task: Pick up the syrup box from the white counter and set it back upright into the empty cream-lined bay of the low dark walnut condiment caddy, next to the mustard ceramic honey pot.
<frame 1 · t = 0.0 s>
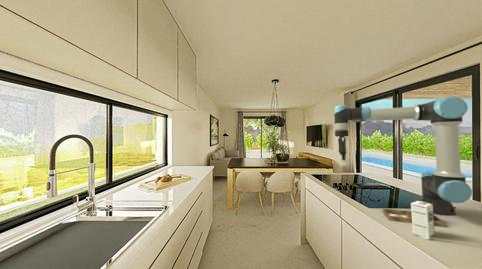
hand: (342, 164, 121), 28 cm above the worktop, fingers open, 13 cm apart
caddy: (410, 220, 102), on the worktop
honey pot: (423, 220, 100), point 1 cm above the worktop, touching caddy
syrup box: (423, 236, 86), on the worktop
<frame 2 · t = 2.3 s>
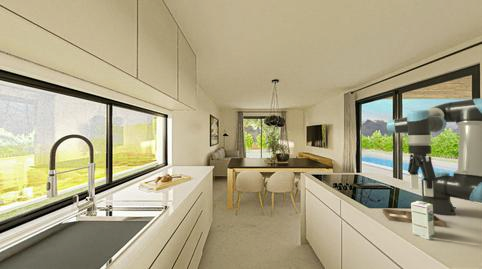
hand: (421, 192, 87), 19 cm above the worktop, fingers open, 13 cm apart
nothing on the worktop moved.
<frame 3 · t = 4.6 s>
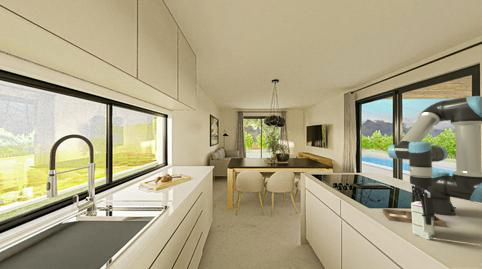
hand: (423, 227, 86), 4 cm above the worktop, fingers closed on syrup box, 8 cm apart
syrup box: (423, 236, 86), on the worktop, touching gripper
everything else where it was.
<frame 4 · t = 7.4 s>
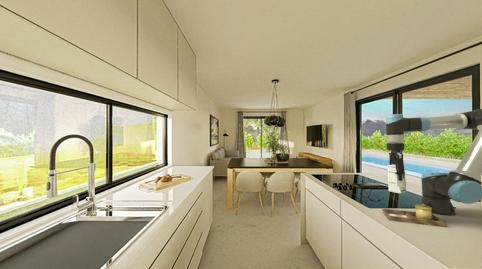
hand: (397, 184, 105), 18 cm above the worktop, fingers closed on syrup box, 8 cm apart
syrup box: (397, 192, 104), point 14 cm above the worktop, touching gripper
everything else where it was.
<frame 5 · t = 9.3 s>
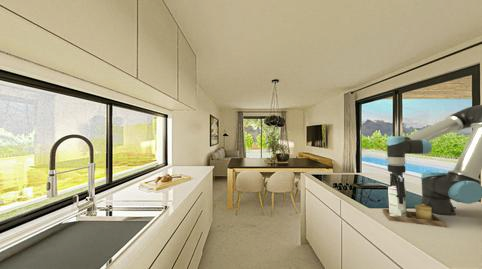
hand: (397, 207, 104), 6 cm above the worktop, fingers closed on syrup box, 8 cm apart
syrup box: (397, 214, 104), point 3 cm above the worktop, touching gripper
everything else where it was.
when the fingers open (5 cm above the worktop, at t = 10.5 s): syrup box stays where it is, resting on caddy.
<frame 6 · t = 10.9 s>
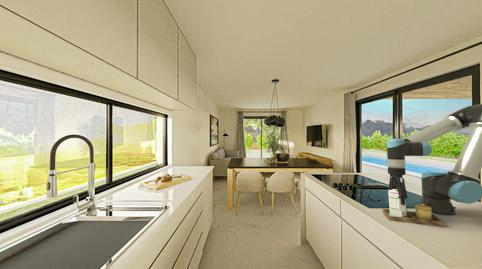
hand: (397, 206, 104), 7 cm above the worktop, fingers open, 13 cm apart
syrup box: (398, 217, 104), point 1 cm above the worktop, touching caddy
everything else where it was.
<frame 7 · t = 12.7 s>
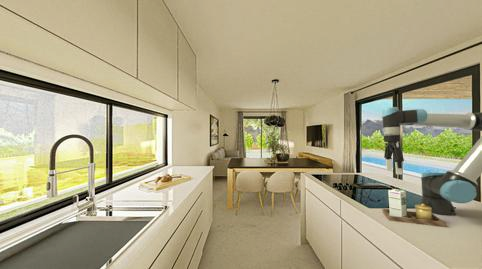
hand: (394, 172, 109), 24 cm above the worktop, fingers open, 13 cm apart
nothing on the worktop moved.
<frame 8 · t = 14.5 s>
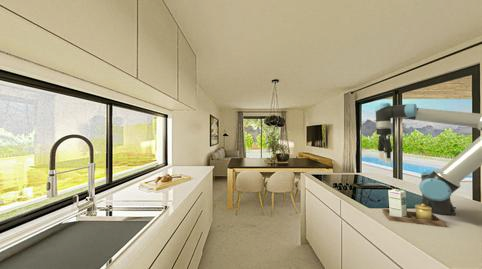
hand: (384, 162, 120), 29 cm above the worktop, fingers open, 13 cm apart
nothing on the worktop moved.
at the end: syrup box inside the target area on the caddy (0.2 cm from its centre), point 0.7 cm above the caddy's base; syrup box tilted 0°; the gripper is holding nothing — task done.
